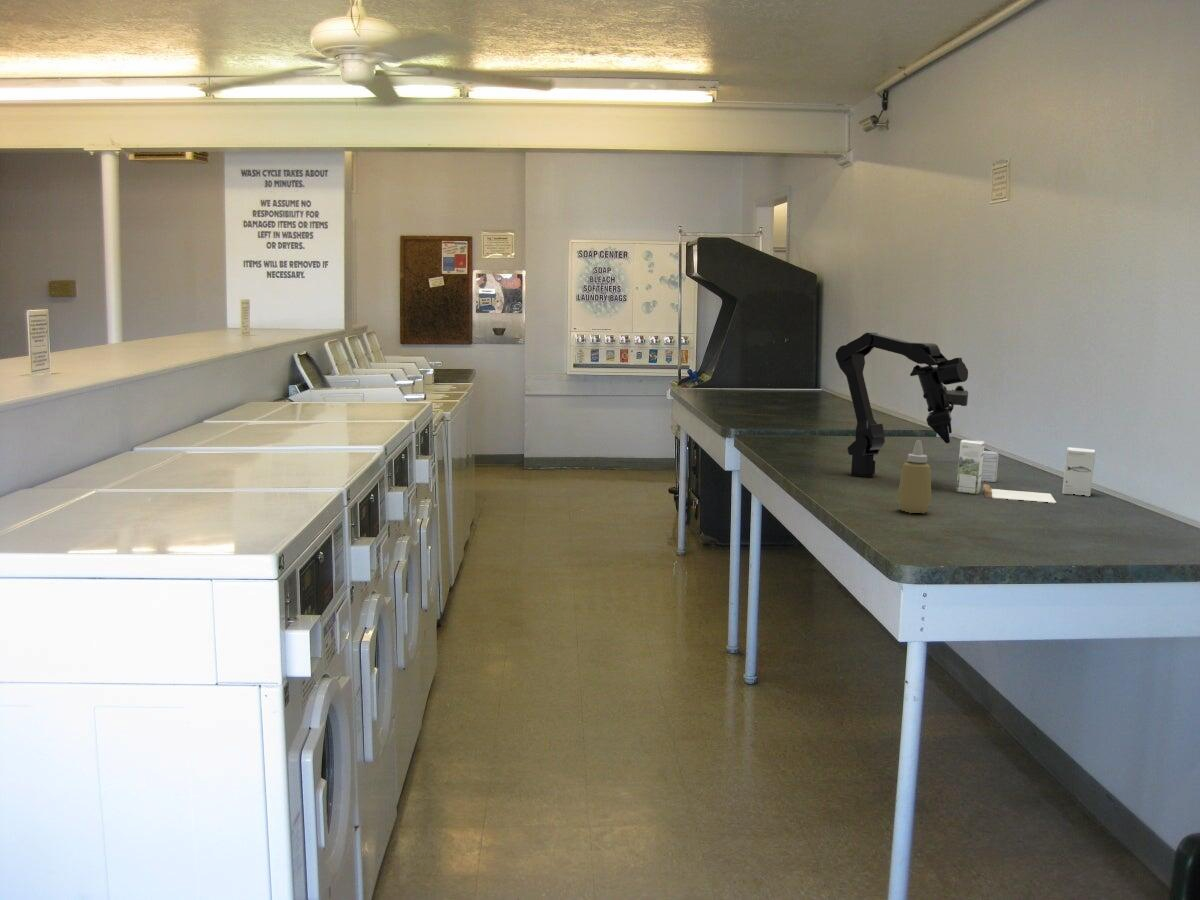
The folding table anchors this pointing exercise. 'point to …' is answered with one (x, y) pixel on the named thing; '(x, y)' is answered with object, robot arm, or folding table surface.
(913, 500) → the squeeze bottle
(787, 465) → the folding table surface
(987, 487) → the strip
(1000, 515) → the folding table surface
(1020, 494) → the mat
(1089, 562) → the folding table surface
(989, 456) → the medicine box
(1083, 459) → the supplement box
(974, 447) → the syrup box
